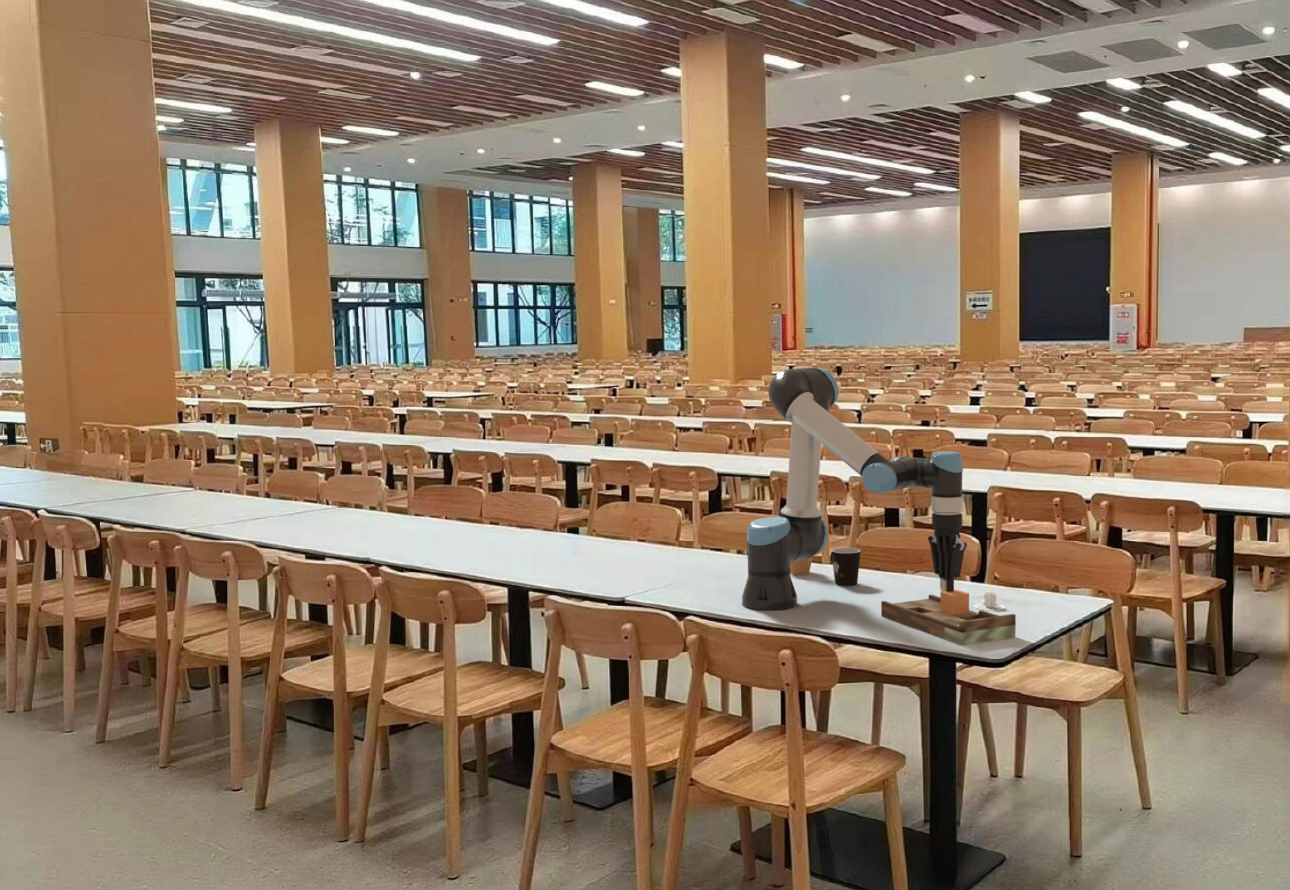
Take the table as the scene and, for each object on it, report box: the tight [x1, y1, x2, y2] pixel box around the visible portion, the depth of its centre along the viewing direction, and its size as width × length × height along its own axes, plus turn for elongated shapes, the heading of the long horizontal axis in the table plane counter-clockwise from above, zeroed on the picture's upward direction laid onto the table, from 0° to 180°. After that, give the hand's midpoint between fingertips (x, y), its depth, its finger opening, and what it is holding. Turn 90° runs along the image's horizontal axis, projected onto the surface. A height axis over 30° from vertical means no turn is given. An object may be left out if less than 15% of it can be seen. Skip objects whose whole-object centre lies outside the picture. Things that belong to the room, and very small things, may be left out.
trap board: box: [880, 594, 1017, 646], centre depth 306 cm, size 16×33×6 cm, turn 24°
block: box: [940, 589, 970, 615], centre depth 308 cm, size 5×5×5 cm
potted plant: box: [790, 556, 814, 576], centre depth 375 cm, size 10×10×25 cm
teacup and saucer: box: [973, 592, 1006, 612], centre depth 326 cm, size 9×8×4 cm
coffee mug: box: [829, 547, 862, 587], centre depth 360 cm, size 12×9×10 cm
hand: (947, 603), depth 311 cm, fingers closed
